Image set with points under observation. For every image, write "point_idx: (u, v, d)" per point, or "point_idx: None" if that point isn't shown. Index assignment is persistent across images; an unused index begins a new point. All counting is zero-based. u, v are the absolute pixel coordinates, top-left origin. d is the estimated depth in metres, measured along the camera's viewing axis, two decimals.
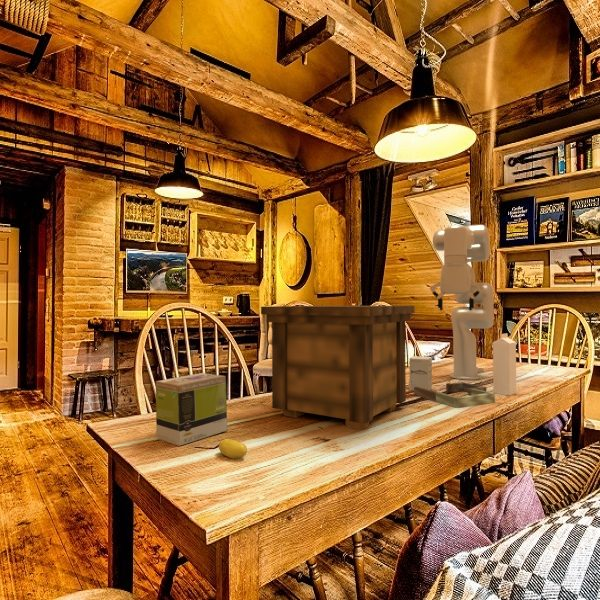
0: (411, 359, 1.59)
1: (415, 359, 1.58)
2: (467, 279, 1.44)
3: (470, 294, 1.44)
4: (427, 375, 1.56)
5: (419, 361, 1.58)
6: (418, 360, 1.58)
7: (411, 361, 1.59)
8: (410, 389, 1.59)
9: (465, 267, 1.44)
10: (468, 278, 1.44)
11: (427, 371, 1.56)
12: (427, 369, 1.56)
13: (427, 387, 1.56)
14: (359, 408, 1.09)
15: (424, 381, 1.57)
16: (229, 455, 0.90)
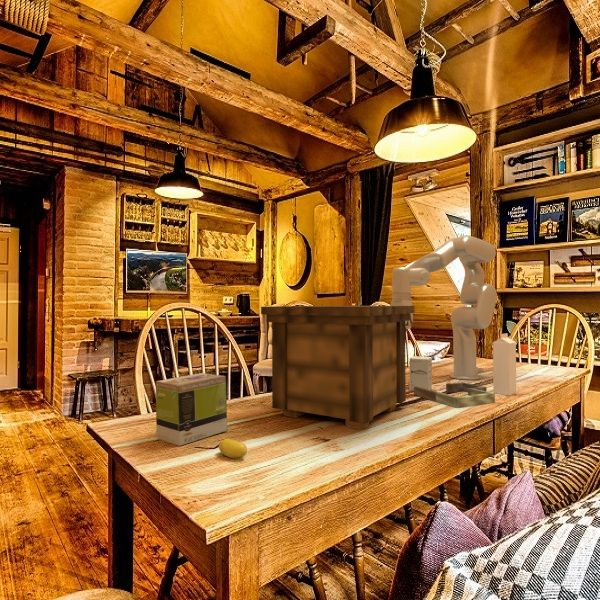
0: (411, 359, 1.59)
1: (415, 359, 1.58)
2: None
3: None
4: (427, 375, 1.56)
5: (419, 361, 1.58)
6: (418, 360, 1.58)
7: (411, 361, 1.59)
8: (410, 389, 1.59)
9: None
10: None
11: (427, 371, 1.56)
12: (427, 369, 1.56)
13: (427, 387, 1.56)
14: (359, 408, 1.09)
15: (424, 381, 1.57)
16: (229, 455, 0.90)
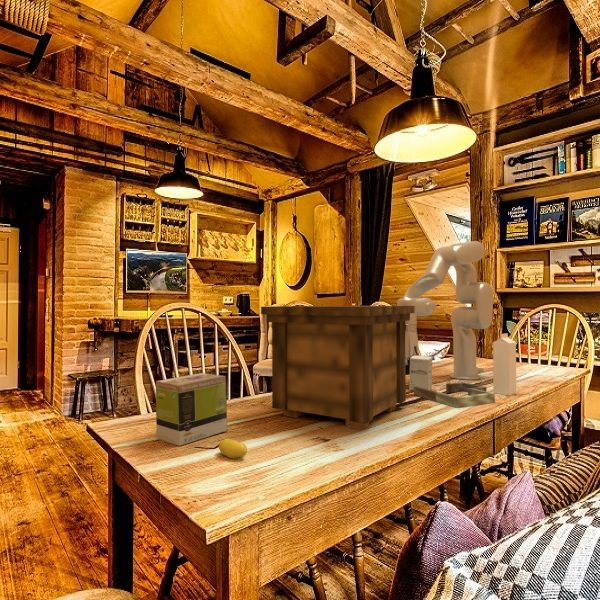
0: (411, 359, 1.59)
1: (415, 359, 1.58)
2: None
3: None
4: (427, 375, 1.56)
5: (419, 361, 1.57)
6: (418, 360, 1.57)
7: (412, 361, 1.58)
8: (410, 389, 1.59)
9: None
10: None
11: (427, 371, 1.56)
12: (427, 369, 1.56)
13: (427, 387, 1.56)
14: (359, 408, 1.09)
15: (424, 381, 1.57)
16: (229, 455, 0.90)
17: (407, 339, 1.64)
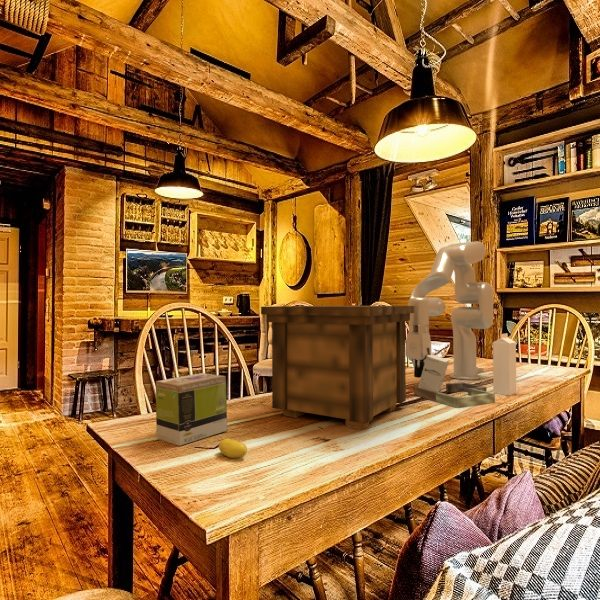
0: (428, 357, 1.54)
1: (432, 358, 1.54)
2: None
3: None
4: (440, 377, 1.52)
5: (436, 361, 1.53)
6: (435, 360, 1.53)
7: (428, 359, 1.54)
8: (419, 386, 1.56)
9: None
10: None
11: (441, 373, 1.52)
12: (442, 371, 1.52)
13: (437, 389, 1.53)
14: (359, 408, 1.09)
15: (435, 382, 1.53)
16: (229, 455, 0.90)
17: (419, 341, 1.57)
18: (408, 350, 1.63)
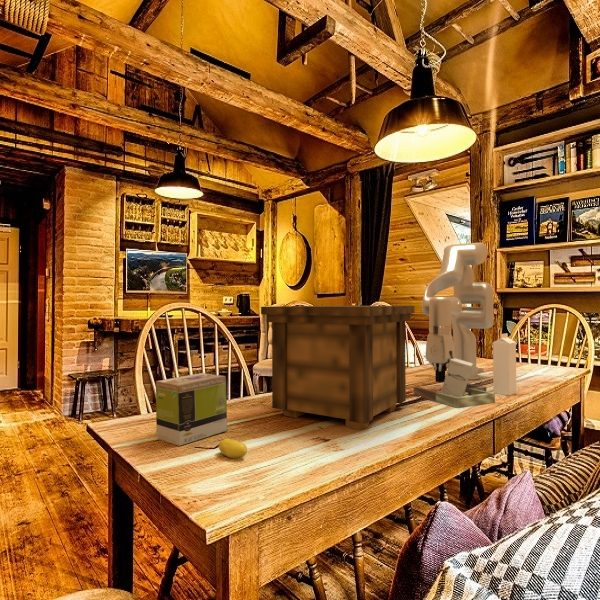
0: (452, 361, 1.45)
1: (456, 362, 1.44)
2: None
3: None
4: (465, 382, 1.43)
5: (460, 365, 1.43)
6: (459, 364, 1.44)
7: (452, 363, 1.45)
8: (442, 392, 1.46)
9: None
10: None
11: (466, 378, 1.43)
12: (467, 376, 1.43)
13: (462, 394, 1.43)
14: (359, 408, 1.09)
15: (460, 387, 1.44)
16: (229, 455, 0.90)
17: (441, 343, 1.47)
18: (429, 353, 1.53)
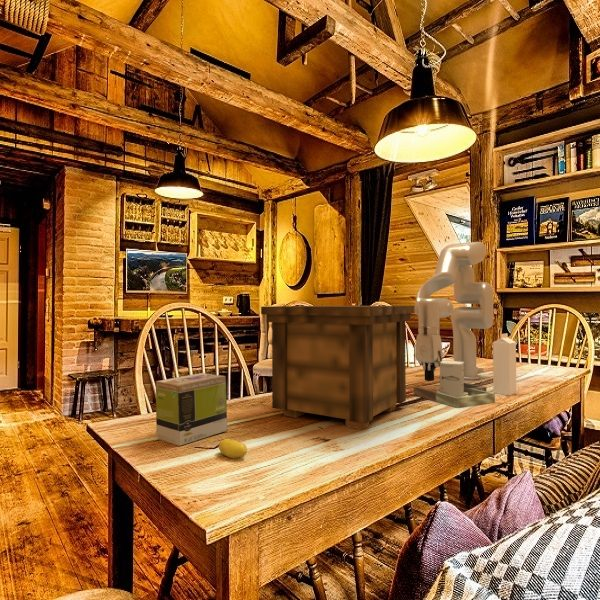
0: (442, 364, 1.46)
1: (446, 364, 1.46)
2: None
3: None
4: (459, 381, 1.44)
5: (451, 366, 1.45)
6: (449, 365, 1.45)
7: (442, 366, 1.46)
8: None
9: None
10: None
11: (460, 377, 1.44)
12: (460, 375, 1.44)
13: (460, 394, 1.44)
14: (359, 408, 1.09)
15: (456, 388, 1.44)
16: (229, 455, 0.90)
17: (430, 343, 1.53)
18: (418, 353, 1.58)
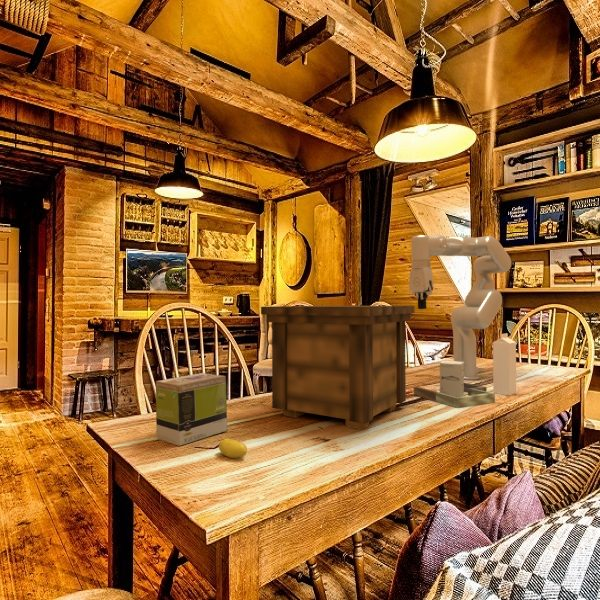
0: (442, 364, 1.46)
1: (446, 364, 1.46)
2: None
3: None
4: (459, 382, 1.44)
5: (451, 366, 1.45)
6: (449, 365, 1.45)
7: (442, 366, 1.46)
8: None
9: None
10: None
11: (460, 377, 1.44)
12: (460, 375, 1.44)
13: (460, 394, 1.44)
14: (359, 408, 1.09)
15: (456, 388, 1.44)
16: (229, 455, 0.90)
17: (422, 274, 1.71)
18: (411, 285, 1.76)
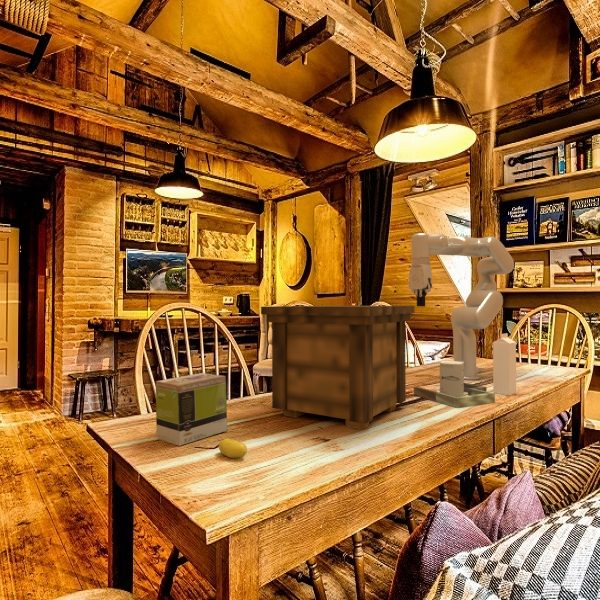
0: (442, 364, 1.46)
1: (446, 364, 1.46)
2: None
3: None
4: (459, 381, 1.44)
5: (451, 366, 1.45)
6: (449, 365, 1.45)
7: (442, 366, 1.46)
8: None
9: None
10: None
11: (460, 377, 1.44)
12: (460, 375, 1.44)
13: (460, 394, 1.44)
14: (359, 408, 1.09)
15: (456, 388, 1.44)
16: (229, 455, 0.90)
17: (421, 271, 1.73)
18: (411, 282, 1.78)
